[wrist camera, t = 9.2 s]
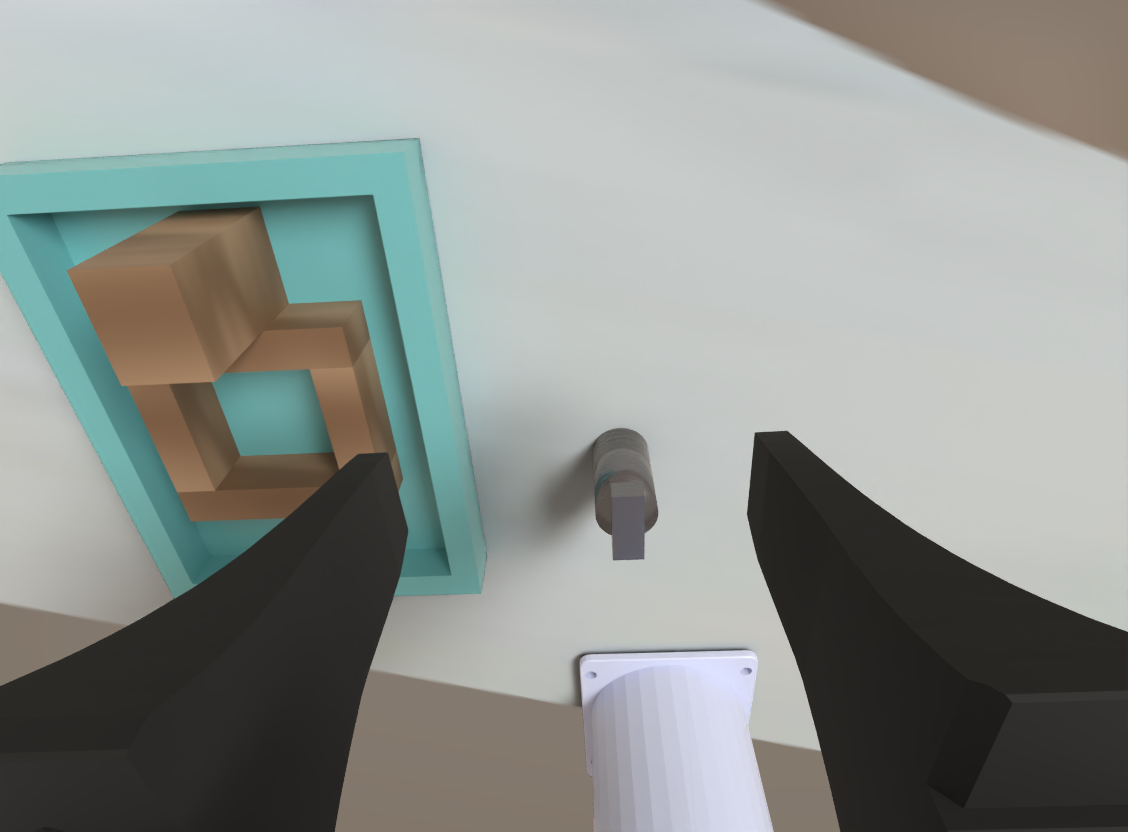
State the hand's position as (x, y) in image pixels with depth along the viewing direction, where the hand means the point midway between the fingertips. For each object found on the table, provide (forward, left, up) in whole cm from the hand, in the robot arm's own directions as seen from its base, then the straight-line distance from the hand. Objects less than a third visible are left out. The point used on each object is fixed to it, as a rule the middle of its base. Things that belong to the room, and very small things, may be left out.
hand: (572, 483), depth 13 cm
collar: (-1, +10, -9) cm, 13 cm away
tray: (-3, +10, -9) cm, 14 cm away
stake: (-6, -1, -9) cm, 11 cm away
